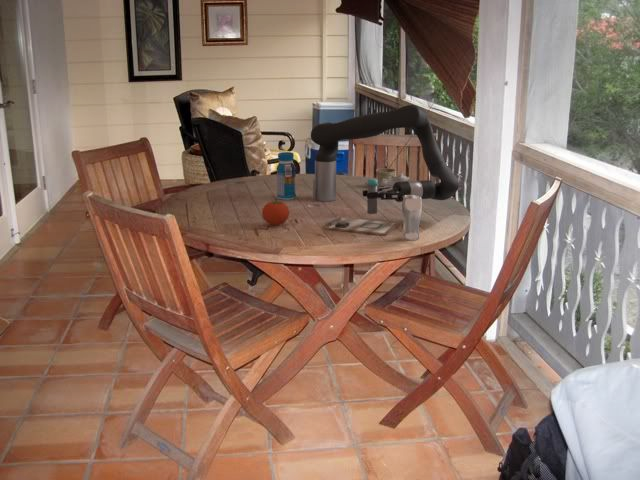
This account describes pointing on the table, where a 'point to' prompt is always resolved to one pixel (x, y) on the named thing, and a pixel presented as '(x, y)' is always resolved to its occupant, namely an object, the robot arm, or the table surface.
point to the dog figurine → (394, 180)
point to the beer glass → (411, 216)
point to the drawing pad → (360, 226)
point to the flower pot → (385, 174)
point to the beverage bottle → (286, 176)
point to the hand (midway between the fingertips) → (365, 194)
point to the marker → (372, 202)
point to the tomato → (275, 213)
